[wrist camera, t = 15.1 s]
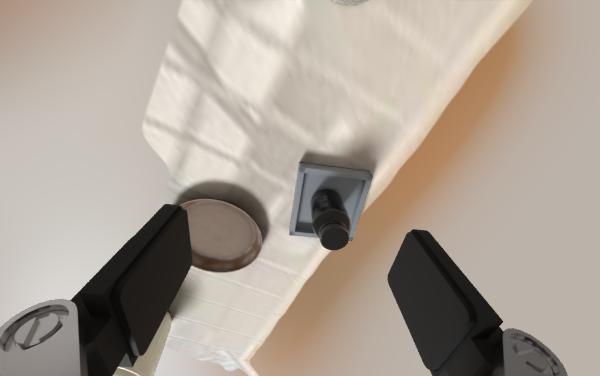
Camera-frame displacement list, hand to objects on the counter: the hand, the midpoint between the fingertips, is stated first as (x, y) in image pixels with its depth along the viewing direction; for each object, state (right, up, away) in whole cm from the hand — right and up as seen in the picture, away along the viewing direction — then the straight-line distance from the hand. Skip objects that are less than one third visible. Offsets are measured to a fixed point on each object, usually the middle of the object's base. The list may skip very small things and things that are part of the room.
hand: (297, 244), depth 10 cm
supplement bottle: (+6, 0, +38) cm, 38 cm away
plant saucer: (-18, -7, +42) cm, 46 cm away
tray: (+6, 0, +38) cm, 38 cm away
